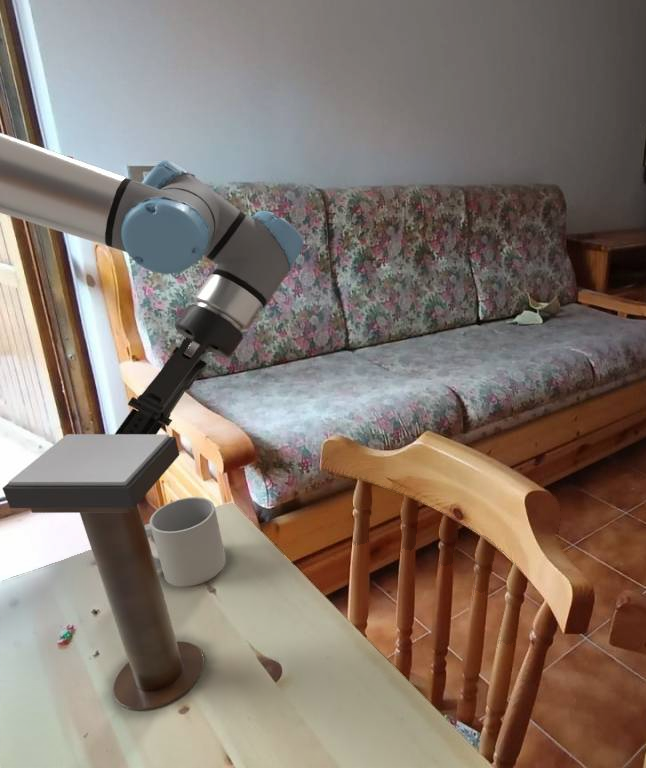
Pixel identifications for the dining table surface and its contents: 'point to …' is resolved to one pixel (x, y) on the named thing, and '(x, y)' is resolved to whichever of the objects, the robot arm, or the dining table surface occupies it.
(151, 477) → the scale
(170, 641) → the stand
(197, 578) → the cup
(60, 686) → the dining table surface
